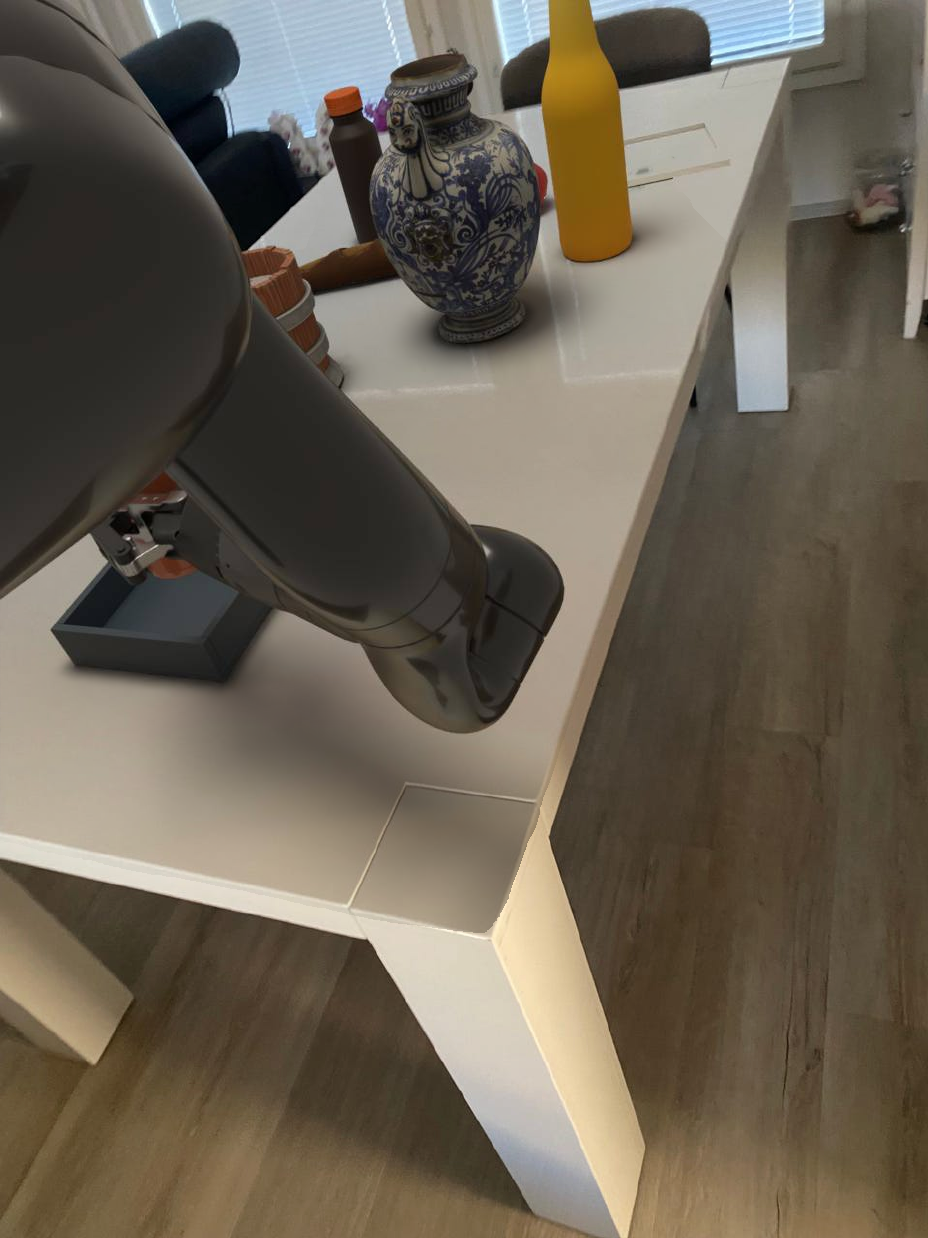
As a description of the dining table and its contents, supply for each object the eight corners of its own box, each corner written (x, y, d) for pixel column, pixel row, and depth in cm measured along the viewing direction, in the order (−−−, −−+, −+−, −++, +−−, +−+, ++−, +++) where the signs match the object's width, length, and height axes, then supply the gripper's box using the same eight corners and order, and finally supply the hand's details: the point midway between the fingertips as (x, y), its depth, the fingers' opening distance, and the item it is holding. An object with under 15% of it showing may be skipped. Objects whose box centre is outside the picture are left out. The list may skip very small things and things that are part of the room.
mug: (340, 410, 106) (296, 281, 96) (177, 444, 108) (117, 322, 98) (347, 351, 116) (308, 230, 106) (198, 384, 119) (146, 268, 109)
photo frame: (624, 179, 135) (611, 139, 148) (625, 187, 136) (612, 147, 149) (730, 156, 133) (707, 118, 146) (730, 165, 134) (707, 126, 147)
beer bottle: (587, 269, 119) (554, 2, 100) (548, 251, 126) (509, -3, 106) (648, 242, 121) (626, -25, 102) (606, 225, 128) (578, -28, 109)
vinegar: (365, 231, 145) (325, 88, 132) (407, 225, 144) (371, 80, 130) (353, 250, 141) (310, 104, 128) (396, 244, 139) (357, 95, 126)
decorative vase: (434, 287, 125) (376, 48, 106) (573, 275, 119) (537, 19, 100) (381, 372, 111) (304, 113, 92) (536, 363, 104) (486, 84, 86)
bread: (519, 238, 131) (513, 201, 128) (522, 252, 127) (515, 215, 124) (256, 295, 136) (243, 261, 133) (251, 311, 132) (238, 276, 129)
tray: (223, 681, 77) (203, 644, 74) (74, 664, 83) (49, 629, 80) (309, 549, 88) (294, 512, 85) (171, 542, 94) (153, 507, 91)
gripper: (337, 426, 59) (184, 378, 69) (154, 561, 53) (13, 487, 63) (370, 521, 64) (223, 464, 74) (207, 656, 58) (69, 573, 68)
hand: (128, 474), depth 68 cm, fingers closed on tumbler, 5 cm apart
